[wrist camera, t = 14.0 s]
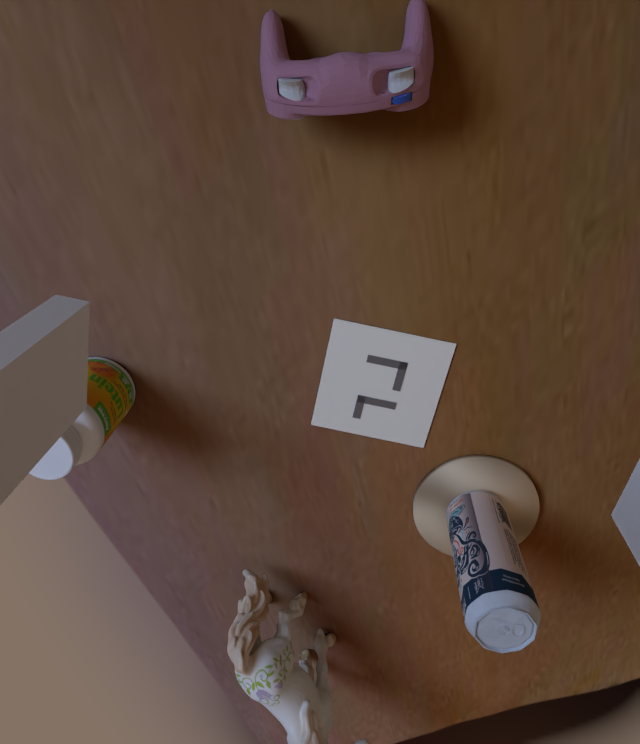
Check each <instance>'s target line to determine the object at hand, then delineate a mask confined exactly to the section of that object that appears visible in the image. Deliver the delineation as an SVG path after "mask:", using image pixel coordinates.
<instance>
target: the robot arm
mask: <svg viewBox="0 0 640 744" xmlns="http://www.w3.org/2000/svg"><path fill="white" fill-rule="evenodd" d="M89 303H90V302H88V301H83V300H79V299H74V298H69V297H64V296H59V295H55V296H53V297H52V298H50V299H49V300H47V301H46V302H44V303H43V304H41V305H40V306H38V307H37V308H35V309H34V310H32V311H31V312H29V313H28V314H26V315H25V316H23V317H21V318H20V319H18V320H17V321H15V322H14V323H12V324H11V325H9V326H8V327H6V328H5V329H3V330H2V331H0V505H1V504H2V503H3V502H4V500H5V499H6V498H7V497H8V496H9V495H10V494H11V493H12V491H13V490H14V489H15V488H16V487H17V486H18V484H19V483H20V482H21V481H22V480H23V479H24V478H25V476H26V475H27V474H28V473H29V472H30V471H31V470H32V469H33V468H34V466H35V465H36V464H37V463H38V462H39V461H40V460H41V459H42V457H43V456H44V455H45V454H46V453H47V452H48V451H49V449H50V448H51V447H52V446H53V445H54V444H55V443H56V442H57V440H58V439H59V438H60V437H61V436H62V435H63V434H64V432H65V431H66V430H67V429H68V428H69V427H70V426H71V425H72V423H73V422H74V421H75V420H76V419H77V418H78V417H79V415H80V414H81V413H82V412H83V411H84V410H85V409H86V407H87V374H88V339H89ZM611 516H612V518H613V520H614V522H615V523H616V525H617V527H618V529H619V530H620V532H621V534H622V536H623V538H624V539H625V541H626V543H627V545H628V546H629V548H630V550H631V552H632V554H633V555H634V557H635V559H636V561H637V562H638V564H639V566H640V459H639V461H638V463H637V465H636V467H635V469H634V471H633V473H632V475H631V477H630V479H629V481H628V483H627V485H626V487H625V489H624V491H623V493H622V495H621V496H620V498H619V500H618V502H617V504H616V506H615V508H614V510H613V512H612V514H611Z"/></svg>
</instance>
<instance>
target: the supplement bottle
mask: <svg viewBox="0 0 640 744" xmlns="http://www.w3.org/2000/svg"><path fill="white" fill-rule="evenodd" d="M134 400H135V386H134V383H133V380H132V378H131V377H130V375H129V374H128V372H127V371H126V370H125V369H124V368H123V367H122V366H120V365H119V364H117V363H116V362H114V361H112V360H109V359H106V358H101V357H91V358H88V374H87V407H86V409H85V410H84V411H83V412H82V413H81V414H80V415H79V417H78V418H77V419H76V420H75V421H74V422H73V423H72V425H71V426H70V427H69V428H68V429H67V430H66V431H65V432H64V434H63V435H62V436H61V437H60V438H59V439H58V440H57V442H56V443H55V444H54V445H53V446H52V447H51V448H50V449H49V451H48V452H47V453H46V454H45V455H44V456H43V457H42V459H41V460H40V461H39V462H38V463H37V464H36V465H35V466H34V468H33V469H32V470H31V471H30V472H29V474H31V475H33V476H35V477H38V478H41V479H46V480H54V479H59V478H62V477H64V476H65V475H67V474H68V473H69V472H70V471H71V470H72V469H73V467H74V466H75V465H79V464H82V463H85V462H87V461H89V460H90V459H92V458H93V457H94V456H95V455H96V454H97V453H98V452H99V450H100V449H101V448H102V446H103V445H104V444H105V442H106V441H107V440H108V438H109V437H110V436H111V434H112V433H113V432H114V430H115V429H116V428H117V426H118V425H119V424H120V422H121V421H122V420H123V418H124V417H125V416H126V414H127V413H128V412H129V410H130V409H131V407H132V405H133V403H134Z"/></svg>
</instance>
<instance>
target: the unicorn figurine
mask: <svg viewBox="0 0 640 744" xmlns="http://www.w3.org/2000/svg"><path fill="white" fill-rule="evenodd" d="M243 575H244V577H245V578H246V581H245V588H246V592H247V593H246V596H245V597H244V599H240V600H239V602H238V615H237V616H236V618H235V620H234V622H233V624H232V625H231V627H230V629H229V633H228V636H229V638H228V647H227V651H228V655H229V657H230V658H231V661H232V662H233V663H234V665H235V674H236V678H237V680H238V682H239V684H240V685H241V687H242V688H243V690H244V691H245V692H246V693H247V694H248V695H249V696H250V697H251V698H252V699H254V700H256V701H258V702H260V703H261V704H263V705H264V706H265V707H266V708H267V709H268V710H269V711H270V712H271V713H272V714H273V715H274V716H275V717H276V718H277V719H278V720H279V721H280V722H281V724H282V725H283V726H284V728H285V729H286V731H287V733H288V736H287V741H288V744H328V739H327V738H328V734H329V732H330V729H331V726H332V723H333V700H332V696H331V692H330V687H329V683H328V679H327V675H328V665H327V660H326V654H327V650H328V647H332V646H333V645H334V643H335V642H336V636H335V635H334V634H333V633H329V634H328V635H324V633H323V631H322V629H321V628H319V629H318V631H317V636H316V639H315V642H314V649H315V651H316V652H317V654H318V662H317V664H316V672H317V680H316V685H315V683H314V669H313V667H312V660H311V655H310V651H309V650H307V649H306V650H304V651H302V652H301V653H300V655H299V663H300V666H299V665H298V664H296V663H294V659H295V656H294V651H293V648H292V644H291V641H292V635H291V630H290V625H289V622H290V620H292V619H294V618H297V617H300V616H302V615H303V613H304V609H305V606H306V602H307V593H305V592H304V593H300V594H298V595H294V596H293V599H292V600H290V601H289V603H288V609H281V610H279V611H278V613H277V616H278V624H277V631H276V635H275V637H273V638H269V639H267V640H264V641H263V642H262V641H261V637H260V633H259V632H260V631H259V624H260V622H261V621H263V620H264V619H266V617H267V615H268V612H269V608H268V604H269V603H270V602H271V601H272V596H271V594H270V593H269V580H268V577H267V575H266V574H264V575H263V578H262V580H261V579H260V578H259V577H258V575H256V574H255V573H254V572H252V571H251V570H247V569H246V570H244V571H243ZM355 744H370V742H369V740H367V739H361V740H359V741H356V742H355Z"/></svg>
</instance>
